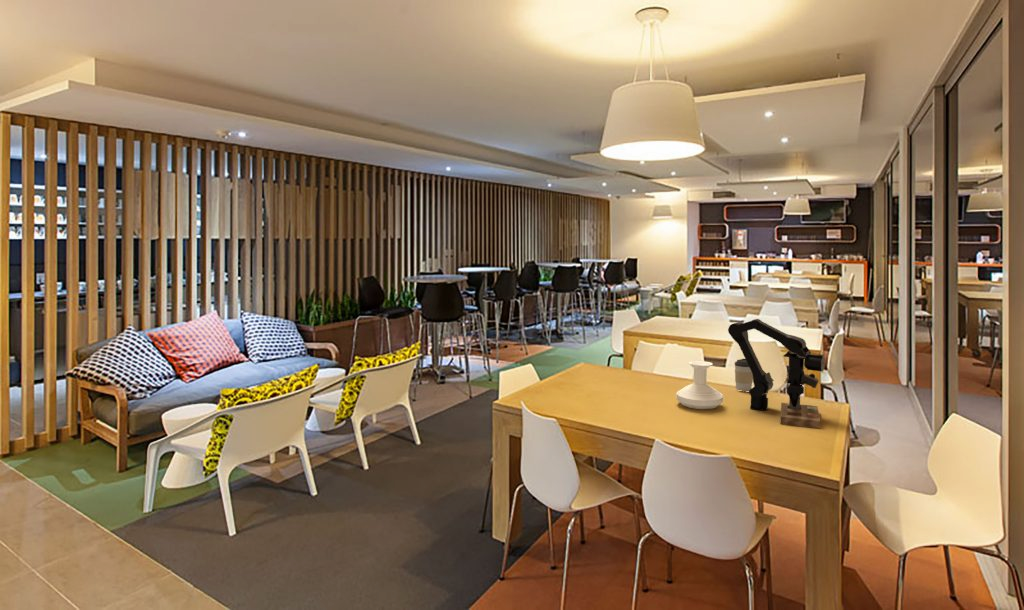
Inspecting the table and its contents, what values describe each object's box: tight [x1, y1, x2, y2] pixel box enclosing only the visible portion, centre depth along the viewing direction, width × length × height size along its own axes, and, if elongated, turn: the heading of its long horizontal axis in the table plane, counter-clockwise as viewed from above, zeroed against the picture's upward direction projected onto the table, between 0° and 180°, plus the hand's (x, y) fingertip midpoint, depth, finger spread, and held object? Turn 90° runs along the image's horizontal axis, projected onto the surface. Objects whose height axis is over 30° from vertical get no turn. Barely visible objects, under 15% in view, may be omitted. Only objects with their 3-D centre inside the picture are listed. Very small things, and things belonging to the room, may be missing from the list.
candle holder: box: [676, 360, 724, 410], centre depth 261 cm, size 20×20×19 cm
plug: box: [788, 395, 801, 410], centre depth 248 cm, size 4×4×8 cm
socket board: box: [780, 402, 821, 429], centre depth 243 cm, size 14×22×4 cm, turn 155°
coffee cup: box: [734, 358, 753, 391], centre depth 287 cm, size 9×9×15 cm
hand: (794, 404), depth 248 cm, fingers open, 6 cm apart
